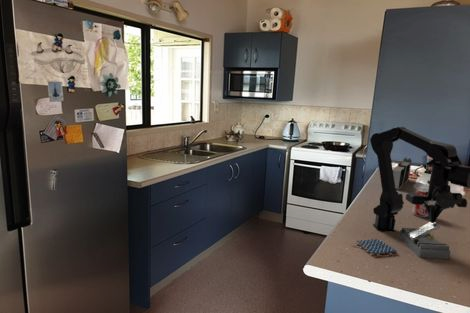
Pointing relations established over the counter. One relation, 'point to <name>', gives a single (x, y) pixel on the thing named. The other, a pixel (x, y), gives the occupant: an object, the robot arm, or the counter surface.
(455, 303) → the counter surface
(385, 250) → the woven mat
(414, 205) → the soda can
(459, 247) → the counter surface
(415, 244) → the heat sink
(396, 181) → the graphics card
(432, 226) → the gray block
